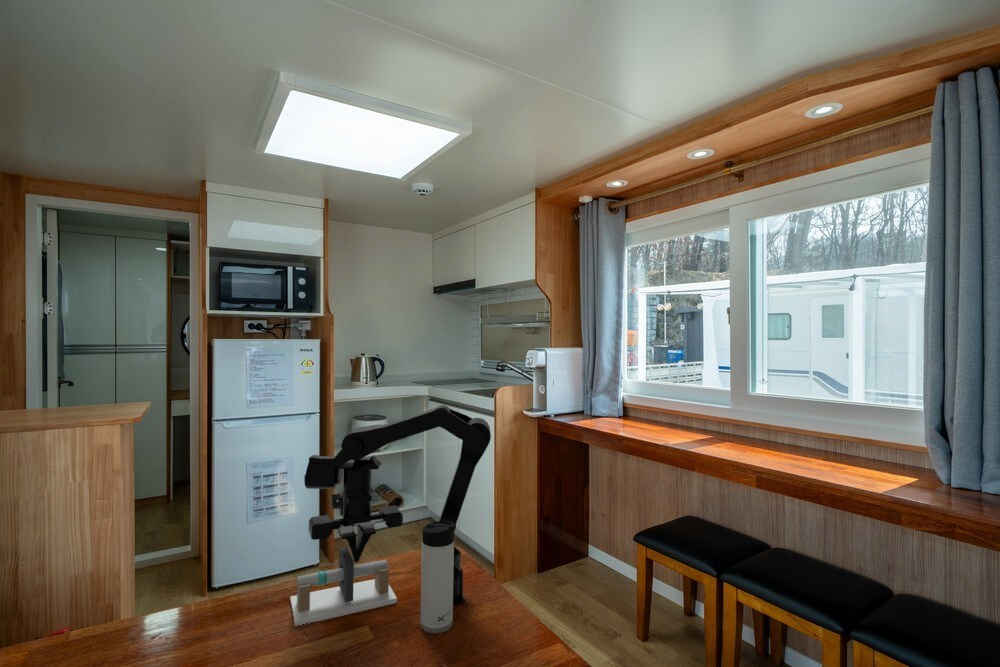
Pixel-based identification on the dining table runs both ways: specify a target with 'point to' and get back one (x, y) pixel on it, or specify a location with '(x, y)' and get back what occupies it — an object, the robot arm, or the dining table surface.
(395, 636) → the dining table surface
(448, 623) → the travel mug
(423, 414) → the robot arm
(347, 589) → the dark grey flat block
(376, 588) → the pipe stand
